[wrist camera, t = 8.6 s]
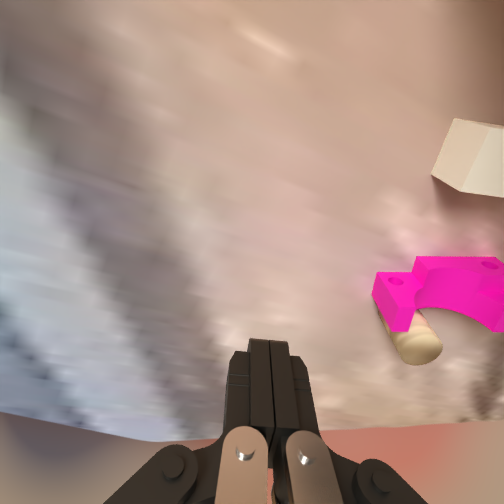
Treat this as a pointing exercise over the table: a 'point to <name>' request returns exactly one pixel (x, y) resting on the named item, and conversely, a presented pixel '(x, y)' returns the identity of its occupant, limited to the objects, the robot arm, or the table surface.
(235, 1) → the table surface
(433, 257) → the toy block
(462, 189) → the beige cube
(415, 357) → the birch cylinder
